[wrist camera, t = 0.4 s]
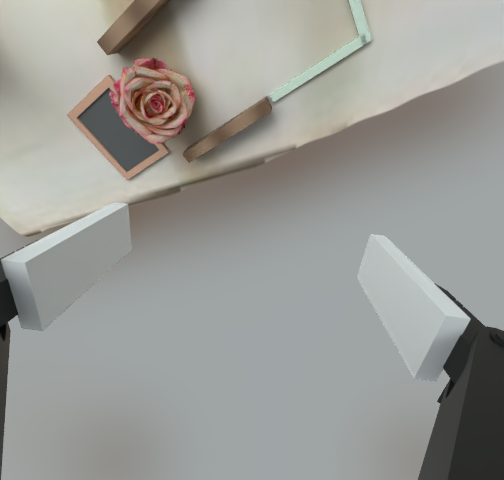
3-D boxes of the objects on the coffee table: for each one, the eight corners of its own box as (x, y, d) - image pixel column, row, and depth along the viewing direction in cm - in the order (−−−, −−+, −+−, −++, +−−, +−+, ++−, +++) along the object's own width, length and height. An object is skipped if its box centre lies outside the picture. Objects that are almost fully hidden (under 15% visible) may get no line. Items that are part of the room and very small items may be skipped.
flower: (151, 150, 40) (161, 160, 34) (95, 96, 35) (94, 96, 28) (196, 104, 40) (214, 105, 34) (147, 43, 35) (158, 31, 28)
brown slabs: (191, -49, 27) (183, -54, 26) (272, 107, 36) (270, 112, 34) (108, 40, 33) (96, 41, 32) (194, 156, 42) (189, 162, 40)
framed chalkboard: (109, 74, 36) (107, 75, 36) (169, 151, 42) (168, 152, 41) (68, 114, 40) (66, 115, 40) (128, 178, 46) (127, 180, 46)
